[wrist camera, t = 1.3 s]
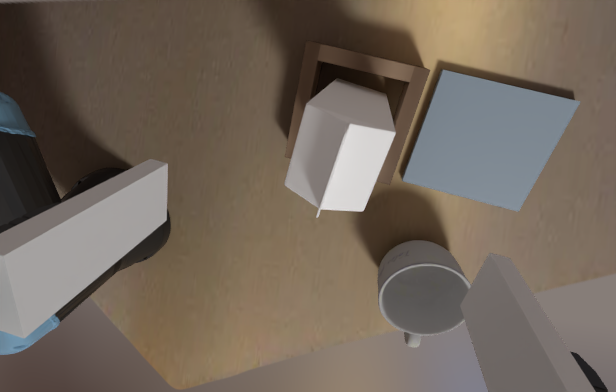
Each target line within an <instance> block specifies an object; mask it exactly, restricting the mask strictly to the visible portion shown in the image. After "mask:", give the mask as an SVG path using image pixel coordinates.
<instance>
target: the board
mask: <svg viewBox="0 0 616 392" xmlns="http://www.w3.org/2000/svg"><path fill="white" fill-rule="evenodd" d="M579 104H580V102H579V101H576V100H571V99H567V98H563V97H558V96H554V95H550V94H546V93H541V92H537V91H533V90H529V89H524V88H520V87H516V86H511V85H507V84H503V83H499V82H494V81H490V80H486V79H482V78H477V77H473V76H469V75H464V74H460V73H456V72H452V71H447V70H443V69H441V72H440V75H439V77H438V80H437V83H436V86H435V88H434V91H433V94H432V97H431V99H430V102H429V105H428V107H427V110H426V113H425V116H424V118H423V121H422V124H421V127H420V129H419V132H418V135H417V138H416V140H415V143H414V146H413V149H412V151H411V154H410V157H409V159H408V162H407V165H406V168H405V170H404V173H403V176H402V181H404V182H408V183H411V184H415V185H419V186H423V187H427V188H430V189H434V190H438V191H442V192H446V193H449V194H453V195H457V196H461V197H465V198H468V199H472V200H476V201H480V202H484V203H488V204H491V205H495V206H499V207H503V208H507V209H510V210H514V211H518V212H519V210H520V208H521V206H522V204H523V203H524V201H525V199H526V197H527V196H528V194H529V192H530V190H531V189H532V187H533V185H534V183H535V182H536V180H537V178H538V176H539V174H540V173H541V171H542V169H543V167H544V166H545V164H546V162H547V160H548V159H549V157H550V155H551V153H552V152H553V150H554V148H555V146H556V144H557V143H558V141H559V139H560V137H561V136H562V134H563V132H564V130H565V129H566V127H567V125H568V123H569V121H570V120H571V118H572V116H573V114H574V113H575V111H576V109H577V107H578V106H579Z"/></svg>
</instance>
